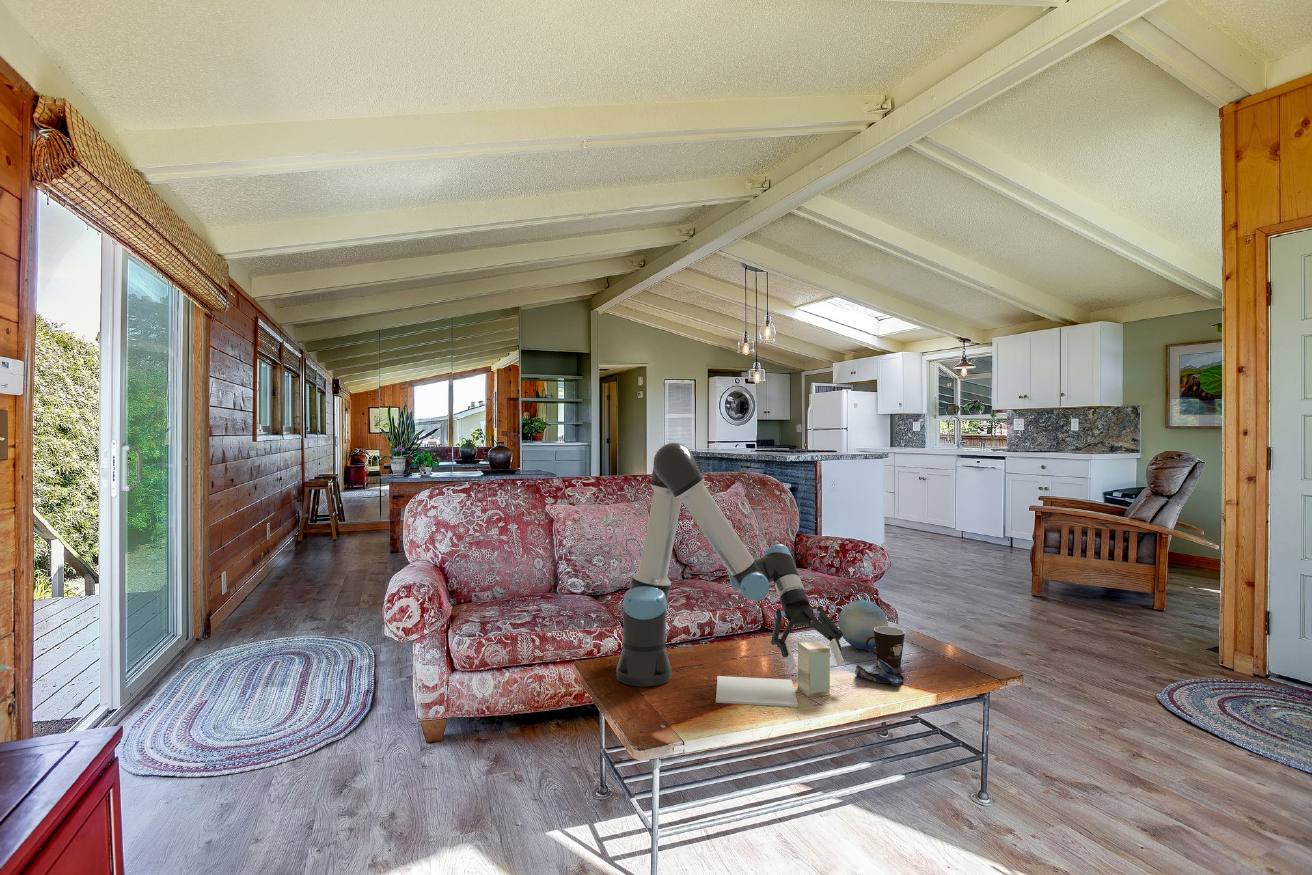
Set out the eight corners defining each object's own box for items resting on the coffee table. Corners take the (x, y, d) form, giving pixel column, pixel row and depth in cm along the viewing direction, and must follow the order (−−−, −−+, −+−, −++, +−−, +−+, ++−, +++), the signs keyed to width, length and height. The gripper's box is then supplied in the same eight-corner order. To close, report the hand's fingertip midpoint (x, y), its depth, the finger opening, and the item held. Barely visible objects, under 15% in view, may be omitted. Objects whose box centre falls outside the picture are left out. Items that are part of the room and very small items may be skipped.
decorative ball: (898, 650, 205) (898, 602, 205) (865, 658, 197) (866, 608, 197) (860, 638, 218) (860, 593, 218) (828, 645, 210) (828, 598, 210)
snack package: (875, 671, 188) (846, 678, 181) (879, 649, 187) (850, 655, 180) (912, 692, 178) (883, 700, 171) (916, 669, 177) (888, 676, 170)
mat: (715, 702, 163) (715, 699, 163) (717, 678, 180) (717, 675, 180) (798, 706, 161) (798, 704, 161) (791, 681, 178) (791, 679, 178)
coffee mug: (900, 660, 196) (900, 626, 196) (908, 670, 188) (908, 635, 188) (860, 658, 197) (860, 625, 197) (866, 668, 189) (866, 633, 189)
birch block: (808, 697, 167) (809, 649, 167) (797, 687, 173) (798, 642, 173) (830, 695, 169) (830, 648, 169) (818, 686, 175) (818, 640, 175)
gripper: (827, 599, 191) (854, 668, 177) (747, 604, 185) (768, 676, 171) (836, 585, 186) (865, 655, 172) (754, 589, 180) (777, 662, 166)
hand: (817, 666), depth 171 cm, fingers open, 13 cm apart
